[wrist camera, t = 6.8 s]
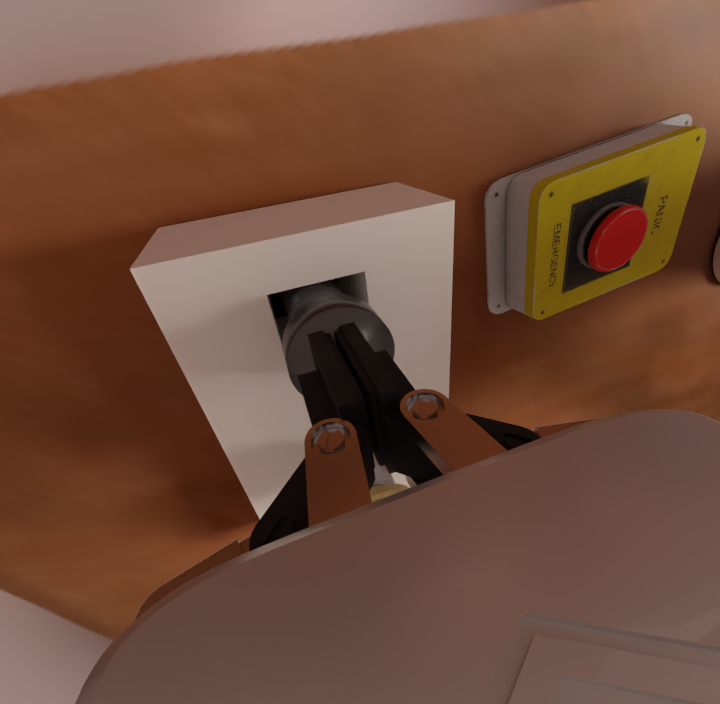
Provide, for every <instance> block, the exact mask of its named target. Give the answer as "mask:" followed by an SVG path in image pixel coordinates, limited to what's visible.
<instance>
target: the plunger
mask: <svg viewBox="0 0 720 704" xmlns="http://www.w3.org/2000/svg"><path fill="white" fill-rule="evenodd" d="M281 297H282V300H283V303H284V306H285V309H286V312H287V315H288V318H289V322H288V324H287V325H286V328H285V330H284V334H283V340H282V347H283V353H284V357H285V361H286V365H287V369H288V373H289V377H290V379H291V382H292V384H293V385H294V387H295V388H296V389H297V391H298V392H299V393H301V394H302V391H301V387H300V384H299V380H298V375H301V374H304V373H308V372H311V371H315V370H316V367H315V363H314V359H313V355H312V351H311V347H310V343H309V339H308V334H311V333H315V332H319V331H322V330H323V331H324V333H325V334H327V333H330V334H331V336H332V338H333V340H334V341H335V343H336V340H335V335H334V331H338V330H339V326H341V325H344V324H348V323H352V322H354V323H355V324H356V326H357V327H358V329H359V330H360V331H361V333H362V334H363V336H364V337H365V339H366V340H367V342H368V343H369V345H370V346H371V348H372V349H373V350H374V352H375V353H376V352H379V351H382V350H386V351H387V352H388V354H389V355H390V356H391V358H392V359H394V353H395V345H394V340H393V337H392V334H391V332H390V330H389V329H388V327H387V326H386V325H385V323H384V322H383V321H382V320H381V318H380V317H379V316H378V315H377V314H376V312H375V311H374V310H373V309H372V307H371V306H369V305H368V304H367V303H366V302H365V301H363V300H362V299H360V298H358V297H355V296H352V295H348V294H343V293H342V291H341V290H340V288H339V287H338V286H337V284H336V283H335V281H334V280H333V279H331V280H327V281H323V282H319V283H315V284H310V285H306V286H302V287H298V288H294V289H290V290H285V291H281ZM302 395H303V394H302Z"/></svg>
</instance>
